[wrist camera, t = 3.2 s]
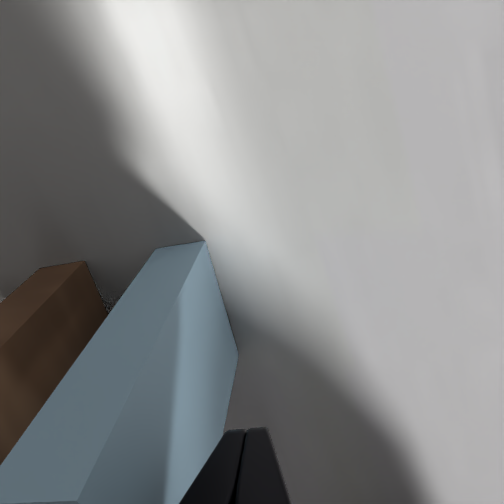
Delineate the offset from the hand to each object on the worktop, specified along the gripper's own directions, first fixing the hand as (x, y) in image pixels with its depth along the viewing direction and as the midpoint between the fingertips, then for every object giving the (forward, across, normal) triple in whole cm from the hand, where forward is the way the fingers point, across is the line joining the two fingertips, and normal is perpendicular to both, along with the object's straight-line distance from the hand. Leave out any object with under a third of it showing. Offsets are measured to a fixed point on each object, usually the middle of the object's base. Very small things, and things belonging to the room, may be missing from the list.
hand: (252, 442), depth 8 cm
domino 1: (+6, +2, 0) cm, 6 cm away
